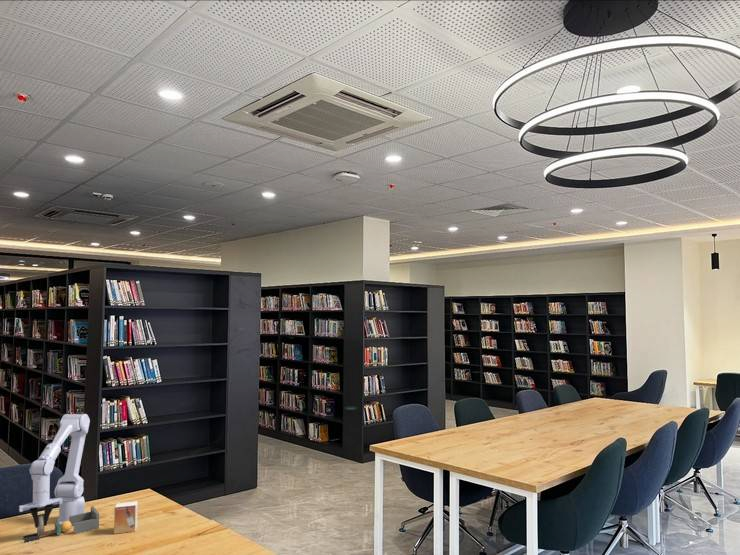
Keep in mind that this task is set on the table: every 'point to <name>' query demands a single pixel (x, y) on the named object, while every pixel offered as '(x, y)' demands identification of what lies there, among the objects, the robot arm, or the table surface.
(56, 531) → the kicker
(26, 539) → the track
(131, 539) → the table surface
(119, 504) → the small box
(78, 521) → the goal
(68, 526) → the ball
